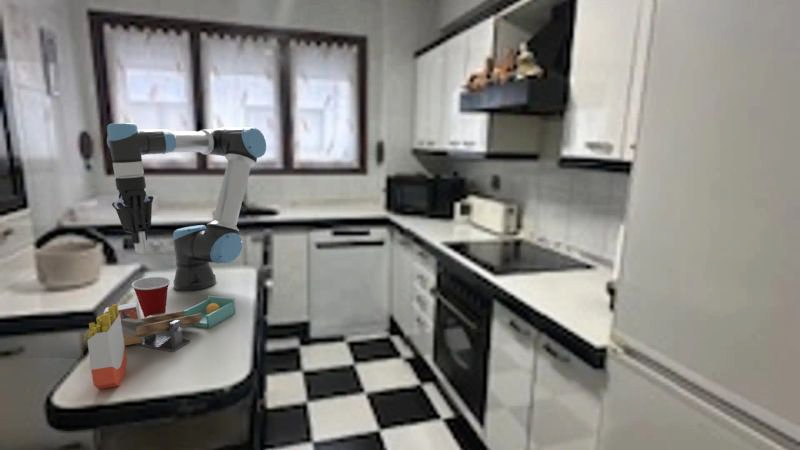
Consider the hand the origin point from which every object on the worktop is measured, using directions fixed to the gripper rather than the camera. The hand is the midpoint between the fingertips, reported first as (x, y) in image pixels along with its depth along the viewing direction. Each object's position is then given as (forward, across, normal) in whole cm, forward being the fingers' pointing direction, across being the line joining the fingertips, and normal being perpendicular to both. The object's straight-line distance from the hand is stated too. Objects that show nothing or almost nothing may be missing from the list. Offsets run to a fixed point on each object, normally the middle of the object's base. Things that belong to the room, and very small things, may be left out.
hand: (141, 252), depth 135 cm
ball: (+20, -6, +18) cm, 28 cm away
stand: (+22, +14, +17) cm, 31 cm away
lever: (+17, +14, +14) cm, 26 cm away
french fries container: (+21, +33, +20) cm, 44 cm away
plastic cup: (+22, -1, 0) cm, 22 cm away
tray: (+22, -4, +18) cm, 29 cm away
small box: (+21, +16, +7) cm, 28 cm away
